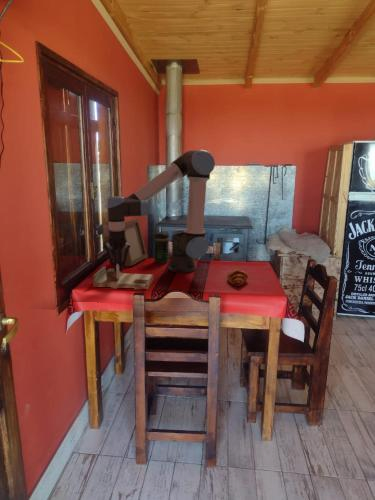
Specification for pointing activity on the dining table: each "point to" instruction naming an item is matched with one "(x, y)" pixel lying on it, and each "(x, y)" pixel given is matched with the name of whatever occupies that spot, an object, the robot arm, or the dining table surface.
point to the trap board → (123, 280)
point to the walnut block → (111, 275)
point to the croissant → (237, 277)
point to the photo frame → (134, 243)
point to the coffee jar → (162, 247)
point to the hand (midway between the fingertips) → (118, 277)
